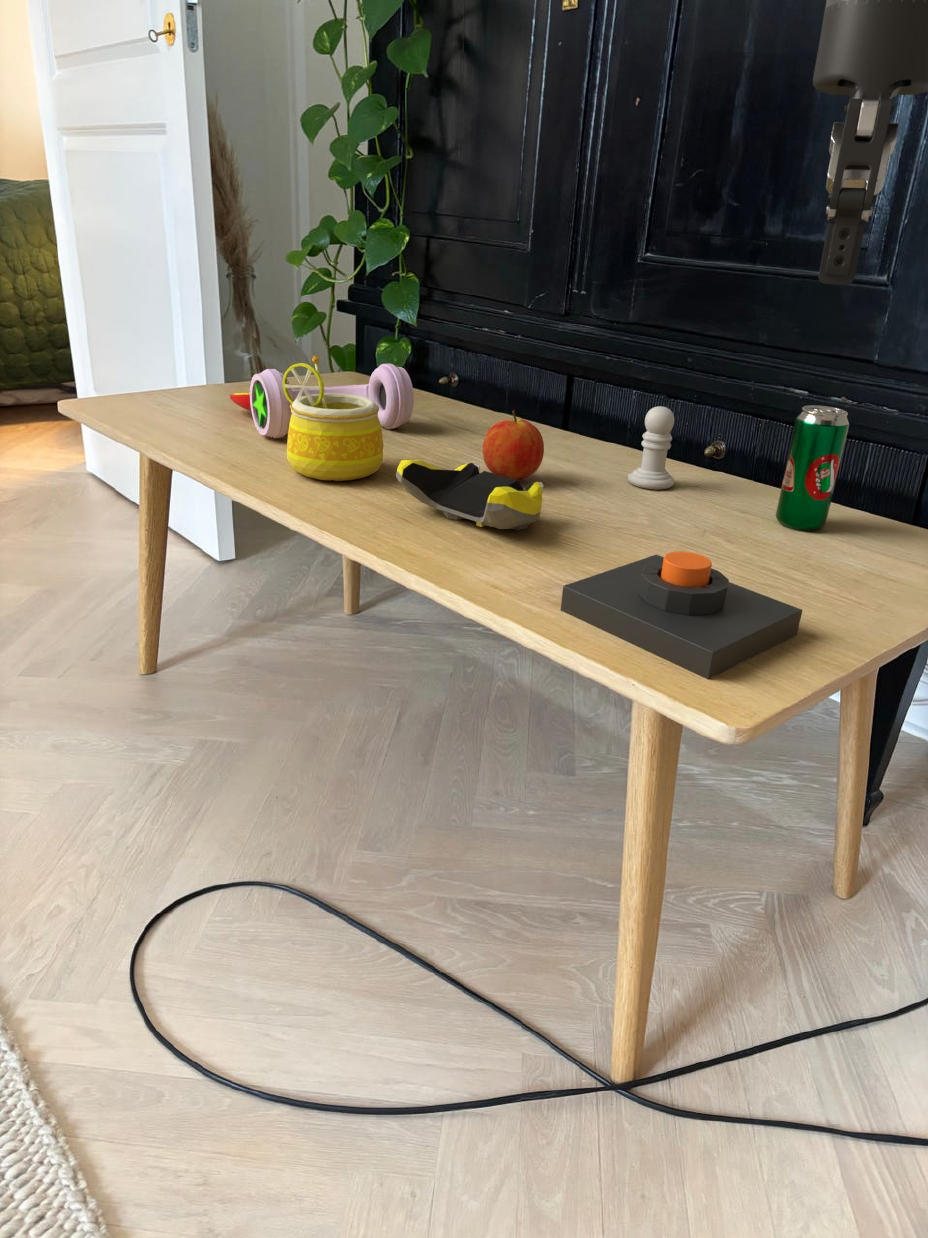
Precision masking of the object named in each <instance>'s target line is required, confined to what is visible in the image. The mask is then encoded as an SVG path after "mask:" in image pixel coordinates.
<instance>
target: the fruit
mask: <svg viewBox="0 0 928 1238" xmlns="http://www.w3.org/2000/svg"><path fill="white" fill-rule="evenodd" d="M511 414H512V416H513V419H512V418H510V419H503V420H500V421H497V422H496V423H494V424H493V425H491V427H490V428H489V429H488V430H487V432H486V434H485V436H484V438H483V442H482V458H483V462H484V464H485V466H486V468H487V469H488V470H489V472H490V473H494V474H497V475H500V476H504V477H507V478H511V479H514V480H517V481H518V482H521V481H524V480H525V479H527V478H530V477H531V476H532V475H533V474H535V473H536V472H537V471H538V469H539V468H540V467H541V464H542V462H543V459H544V456H545V455H544V453H545V444H544V443H545V442H544V437H543V435H542V434H541V432H540V430H539V428H538V427H536V425H534V424H532V423H531V422H529V421H528V420H526V419H523V418H517V416H516V412H515V410H514V409H513V410H512V412H511Z"/></svg>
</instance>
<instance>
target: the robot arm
mask: <svg viewBox="0 0 928 1238" xmlns="http://www.w3.org/2000/svg"><path fill="white" fill-rule="evenodd" d="M812 85H813V87H814V89H815V90H817V91H818V92H820V93H823V94H827V95H835V96H847V97H849V99H848V104H847V105H844V112H843V116H845V120H844V122H842V121H841V122H840V121H839V122H837V121H836V122H835V121H834V122H833V124H832V129H831V135H830V141H829V147H828V152H829V156H830V159H829V165H828V170H827V175H826V176H827V177H826V183H825V189H826V191H827V193H828V196H827V203H829V205H827V206H826V211H825V215H827V219H826V220H827V221H828V224H827V228H826V232H825V233H826V235H825V239H824V244H823V250H822V255H821V260H820V264H819V265H820V266H819V270H818V276H817V277H818V280H819V282H820V283H821V284H823V285H834V286H835V285H836V286H849V285H850V284H852V283H853V282H854V280H855V278H856V277H855V276H856V273H857V272H856V271H857V269H858V268H857V267H858V266H857V265H858V263H859V258H860V252H861V248H862V243H863V237H864V234H865V228H866V223H868V222H869V218H870V217H872V214H873V211H874V206H873V205H875V204H876V199H877V194H879V193H880V192H881V191H882V189H883V187H884V183H885V179H886V174H887V168H888V163H889V158H890V157H891V156H892V154H893V153H894V150H895V146H896V142H897V137H898V133H899V128H900V122H890V118H891V116H893V115H894V112H895V105H893V103H894V97H896V96H910V95H911V96H912V95H918V94H923V93H926V92H928V0H826V1H825V7H824V13H823V18H822V24H821V30H820V36H819V43H818V48H817V53H816V61H815V64H814V71H813V76H812ZM864 222H865V223H864Z"/></svg>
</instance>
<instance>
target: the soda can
mask: <svg viewBox="0 0 928 1238" xmlns="http://www.w3.org/2000/svg"><path fill="white" fill-rule="evenodd" d="M848 414H849V413H848V412H847V411H846V410H844V409H841V408H838V407H833V406H825V405H816V404H815V405H814V404H813V405H804V406H802V407H801V411H800V412H799V414H798V415H797V416H796V417H795V420H794V421H795V422H794V426H793V431H792V434H791V435H792V436H791V440H790V444H789V449H788V454H787V459H786V463H785V469H784V473H783V479H782V483H781V487H780V492H779V497H778V501H777V505H776V506H777V507H776V510H775V511H776V512H775V517H776V520H777V522H778V523H779V524H780V525H782V526H784V527H785V528H789V529H792V530H795V531H801V532H803V531H805V532H814V531H819V530H820V529H822V528H823V527H824V526H825V525H826V524H827V521H828V518H829V513H830V508H831V504H832V500H833V495H834V491H835V487H836V483H837V478H838V476H839V475H838V474H839V470H840V467H841V461H842V459H843V454H844V449H845V443H846V440H847V436H848V432H849V428H850V423H849V420H848Z"/></svg>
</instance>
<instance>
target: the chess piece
mask: <svg viewBox="0 0 928 1238" xmlns="http://www.w3.org/2000/svg"><path fill="white" fill-rule="evenodd" d="M674 425H675V415H674V412H673V411H672V410H671V409H670V408H668V407H666V406H660V405H659V406H654V407H652V408H650V409H649V410H648V412H647V413H646V415H645V418H644V426H645V430H646V431H645V432H644V433H643V434H642V438H643V440H642V441H641V446H642V447H643V450H642V451H643V452H642V458H641V465H640V466H639V467H637V468H635V469H634V470H633V471H631V472H629V473H628V474H627V475H628V476H627V481H628V482H629V484H631V485H632V486H635V487H637V488H641V489H645V490H646V489H647V490H654V491H655V490H656V491H657V490H659V491H660V490H666V489H670V488H671V487H673V486H674V484H675V479H674V477H673V476H672V475H671V474H670V473H669V471H667V469H666V461H667V455H668V450H670V449H671V447H672V444H671V442H672V440H673V436H672V435H671V433H670V432H671V431H672V430H673V428H674Z"/></svg>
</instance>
